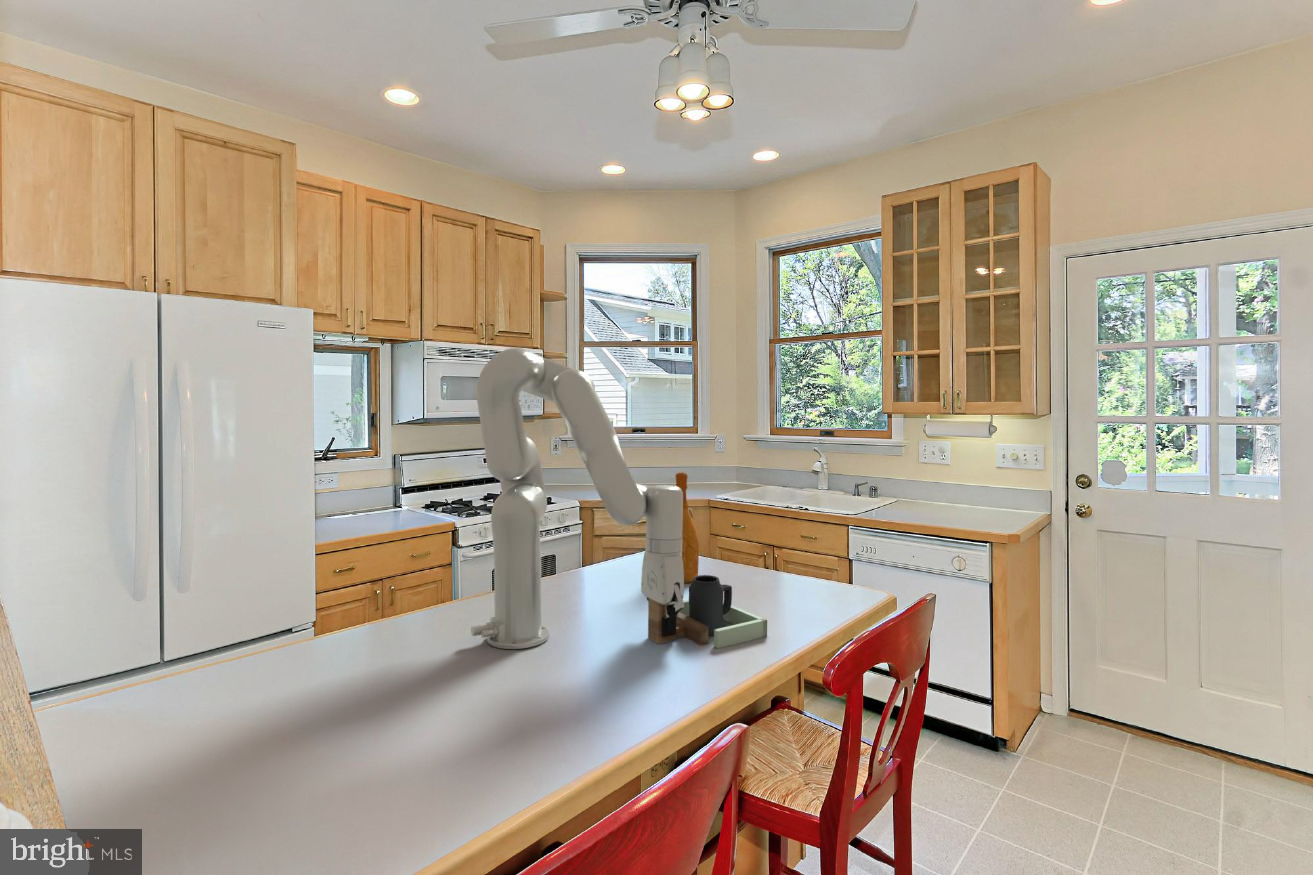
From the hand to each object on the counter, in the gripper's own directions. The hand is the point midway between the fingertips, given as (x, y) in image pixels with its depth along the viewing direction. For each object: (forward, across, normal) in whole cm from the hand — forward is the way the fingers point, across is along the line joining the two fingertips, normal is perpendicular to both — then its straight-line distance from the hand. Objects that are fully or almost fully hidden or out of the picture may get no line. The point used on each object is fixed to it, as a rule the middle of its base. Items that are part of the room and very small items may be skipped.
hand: (662, 631), depth 137 cm
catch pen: (+1, 0, +12) cm, 13 cm away
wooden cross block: (+2, 0, +2) cm, 3 cm away
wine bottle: (+2, -36, +29) cm, 46 cm away
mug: (+2, 0, +13) cm, 13 cm away
